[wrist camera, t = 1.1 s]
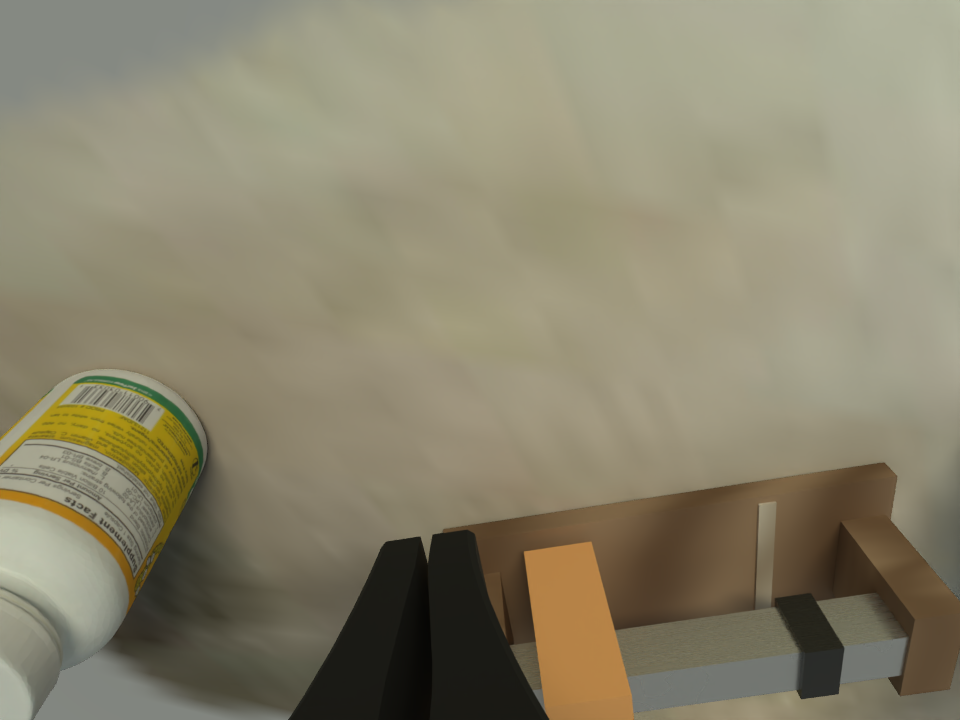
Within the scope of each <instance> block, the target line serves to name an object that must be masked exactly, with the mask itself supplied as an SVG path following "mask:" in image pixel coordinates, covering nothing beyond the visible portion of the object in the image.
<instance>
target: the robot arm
mask: <svg viewBox="0 0 960 720" xmlns="http://www.w3.org/2000/svg"><path fill="white" fill-rule="evenodd" d="M288 720H549V718H548V716H547V714H546V713H545V711H544V709H543V708H542V706H541V704H540V702H539V701H538V699H537V697H536V695H535V694H534V692H533V690H532V688H531V686H530V685H529V683H528V681H527V679H526V677H525V675H524V673H523V671H522V670H521V668H520V666H519V664H518V662H517V660H516V658H515V656H514V653H513V651H512V649H511V647H510V645H509V643H508V641H507V639H506V637H505V635H504V632H503V630H502V628H501V625H500V623H499V621H498V618H497V616H496V613H495V611H494V608H493V606H492V604H491V601H490V598H489V596H488V592H487V587H486V583H485V578H484V574H483V569H482V564H481V560H480V555H479V551H478V546H477V541H476V537H475V534H474V533H473V532H471V531H469V530H468V529H467V530H460V531H453V532H447V533H440V534H434V535H433V536H432V541H431V547H430V553H429V561H428V563H427V559H426V555H425V552H424V548H423V544H422V540H421V537H414V538H407V539H401V540H394V541H387V542H385V544H384V545H383V546H382V547H381V549H380V552H379V554H378V556H377V559H376V561H375V563H374V566H373V568H372V570H371V572H370V574H369V577H368V579H367V581H366V583H365V585H364V587H363V589H362V591H361V594H360V596H359V598H358V600H357V602H356V604H355V606H354V608H353V610H352V612H351V614H350V615H349V617H348V619H347V621H346V623H345V625H344V627H343V629H342V631H341V632H340V634H339V636H338V638H337V640H336V642H335V644H334V646H333V647H332V649H331V651H330V653H329V655H328V656H327V658H326V660H325V661H324V663H323V665H322V666H321V668H320V670H319V671H318V673H317V675H316V676H315V678H314V680H313V681H312V683H311V685H310V686H309V688H308V690H307V691H306V693H305V695H304V696H303V698H302V700H301V701H300V703H299V704H298V706H297V707H296V709H295V710H294V712H293V713H292V715H291V717H290V718H289V719H288Z"/></svg>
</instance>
